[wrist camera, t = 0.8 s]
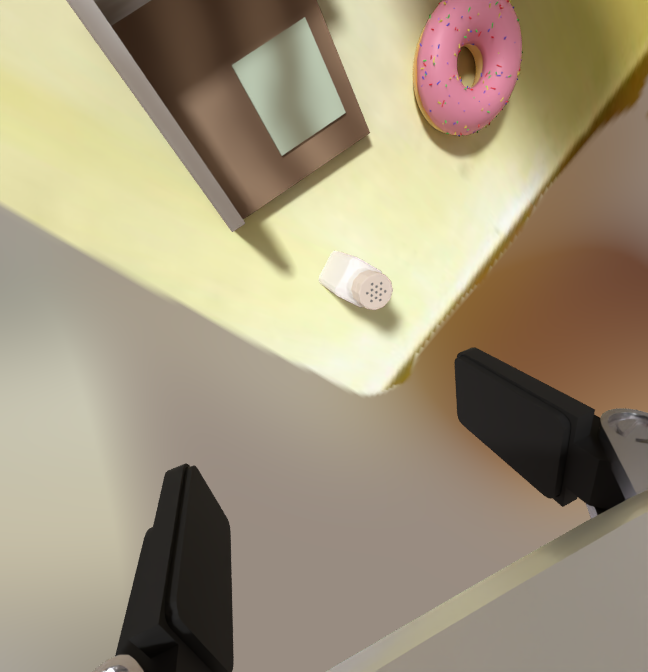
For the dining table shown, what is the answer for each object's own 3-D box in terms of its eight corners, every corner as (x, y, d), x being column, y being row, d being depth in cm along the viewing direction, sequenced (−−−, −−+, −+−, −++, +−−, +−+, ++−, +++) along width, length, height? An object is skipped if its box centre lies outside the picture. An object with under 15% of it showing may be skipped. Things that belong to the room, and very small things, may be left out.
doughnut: (476, -29, 27) (515, -66, 24) (510, 97, 33) (546, 82, 29) (385, 50, 28) (410, 26, 24) (433, 163, 33) (460, 157, 29)
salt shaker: (344, 295, 35) (382, 321, 27) (315, 280, 33) (346, 303, 25) (360, 264, 34) (405, 281, 26) (331, 247, 33) (369, 260, 24)
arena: (270, -93, 22) (290, -216, 16) (364, 135, 30) (403, 115, 23) (85, 25, 21) (28, -53, 15) (230, 227, 29) (232, 232, 23)
